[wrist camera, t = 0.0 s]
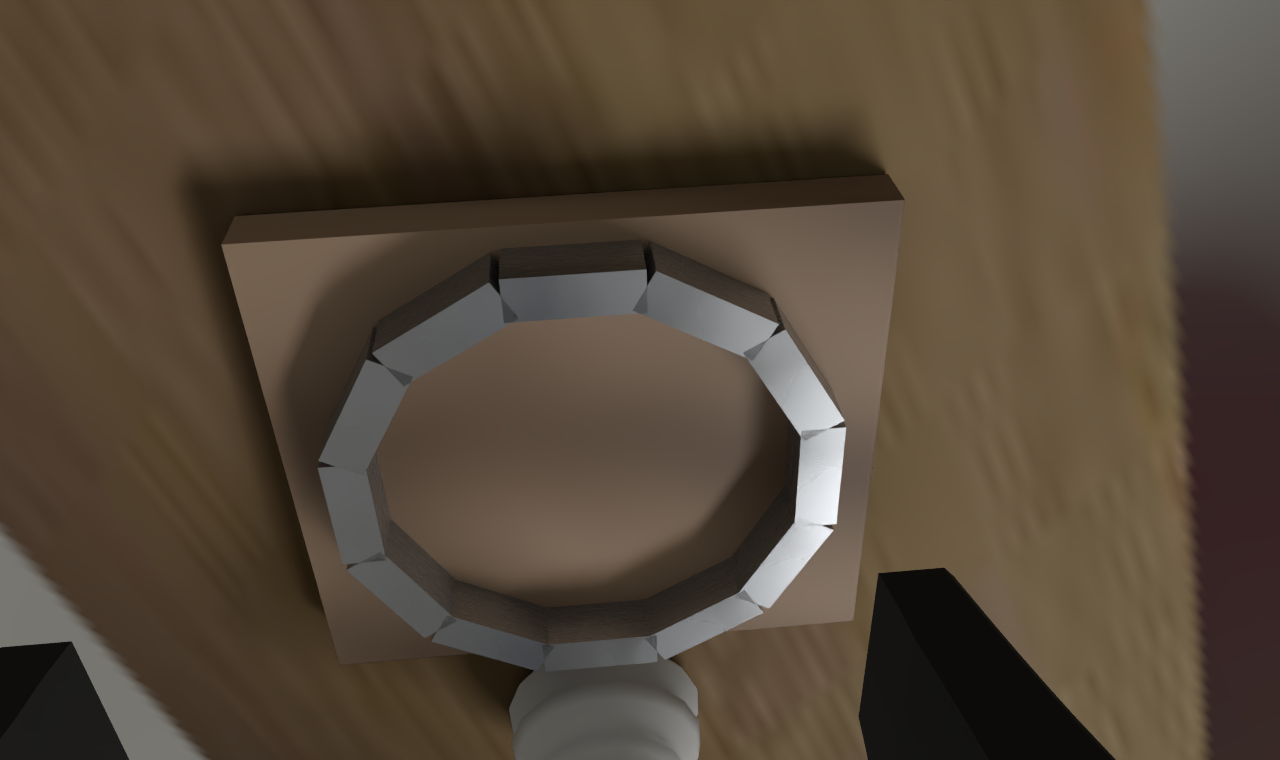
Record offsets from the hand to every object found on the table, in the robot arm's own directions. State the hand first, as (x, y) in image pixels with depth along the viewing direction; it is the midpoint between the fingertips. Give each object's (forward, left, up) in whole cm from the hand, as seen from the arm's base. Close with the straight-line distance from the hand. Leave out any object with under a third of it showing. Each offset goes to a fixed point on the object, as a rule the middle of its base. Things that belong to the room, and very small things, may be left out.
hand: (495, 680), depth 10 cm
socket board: (-5, -1, -10) cm, 11 cm away
